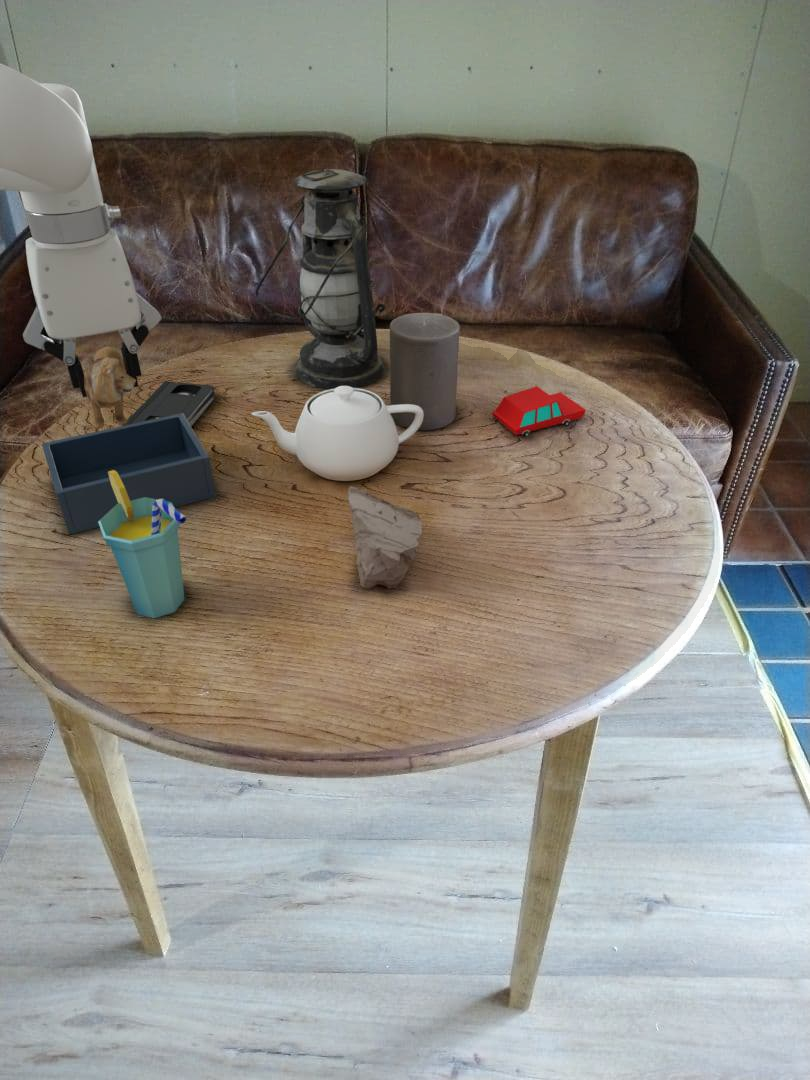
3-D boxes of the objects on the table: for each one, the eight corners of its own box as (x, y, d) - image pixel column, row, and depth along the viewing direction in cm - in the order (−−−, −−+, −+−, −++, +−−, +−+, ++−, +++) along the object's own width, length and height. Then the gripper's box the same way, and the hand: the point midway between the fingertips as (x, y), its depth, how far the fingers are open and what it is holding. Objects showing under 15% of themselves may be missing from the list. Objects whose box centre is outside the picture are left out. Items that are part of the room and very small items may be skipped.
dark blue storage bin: (69, 535, 93) (55, 493, 89) (53, 482, 102) (41, 443, 98) (216, 496, 99) (209, 456, 96) (189, 450, 108) (182, 412, 105)
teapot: (412, 430, 113) (413, 359, 106) (434, 481, 102) (436, 406, 95) (255, 445, 109) (246, 373, 103) (261, 500, 98) (251, 423, 92)
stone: (425, 612, 82) (461, 524, 83) (359, 583, 78) (399, 490, 79) (354, 586, 95) (386, 509, 96) (294, 560, 90) (329, 479, 91)
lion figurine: (143, 438, 90) (134, 364, 85) (94, 443, 88) (81, 368, 83) (128, 383, 101) (119, 314, 96) (83, 386, 99) (72, 316, 94)
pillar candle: (381, 425, 114) (378, 324, 105) (402, 395, 121) (402, 299, 112) (446, 435, 111) (449, 333, 102) (464, 405, 119) (469, 307, 110)
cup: (236, 614, 82) (216, 493, 73) (174, 656, 77) (144, 531, 68) (154, 560, 89) (126, 443, 80) (93, 595, 84) (56, 475, 75)
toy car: (585, 421, 115) (589, 395, 112) (515, 439, 111) (517, 413, 108) (558, 402, 120) (562, 377, 117) (490, 419, 115) (492, 394, 113)
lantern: (412, 376, 127) (413, 174, 108) (314, 413, 117) (297, 197, 99) (341, 340, 138) (332, 152, 120) (247, 371, 128) (221, 171, 110)
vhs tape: (178, 443, 110) (175, 431, 108) (124, 438, 111) (121, 425, 110) (216, 397, 121) (214, 385, 120) (167, 392, 122) (165, 380, 121)
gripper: (145, 205, 87) (174, 361, 98) (-25, 225, 81) (27, 389, 91) (161, 222, 81) (190, 385, 92) (-19, 245, 75) (35, 417, 86)
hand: (108, 385), depth 92 cm, fingers closed on lion figurine, 4 cm apart
